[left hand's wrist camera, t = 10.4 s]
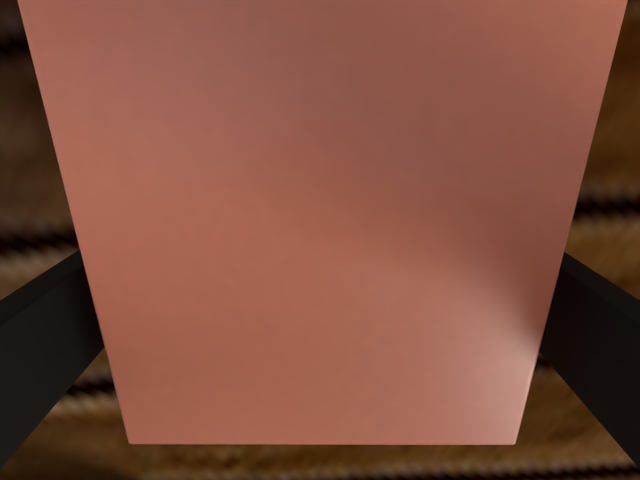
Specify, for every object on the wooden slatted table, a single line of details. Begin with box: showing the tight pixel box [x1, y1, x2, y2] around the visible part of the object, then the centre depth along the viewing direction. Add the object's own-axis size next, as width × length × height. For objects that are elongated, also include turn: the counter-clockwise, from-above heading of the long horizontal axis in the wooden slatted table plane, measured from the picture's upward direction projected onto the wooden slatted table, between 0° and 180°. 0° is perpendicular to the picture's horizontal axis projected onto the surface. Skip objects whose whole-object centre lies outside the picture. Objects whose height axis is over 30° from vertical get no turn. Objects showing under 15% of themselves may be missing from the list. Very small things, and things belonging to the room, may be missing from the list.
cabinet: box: [18, 0, 628, 445], centre depth 10 cm, size 21×10×9 cm, turn 0°
